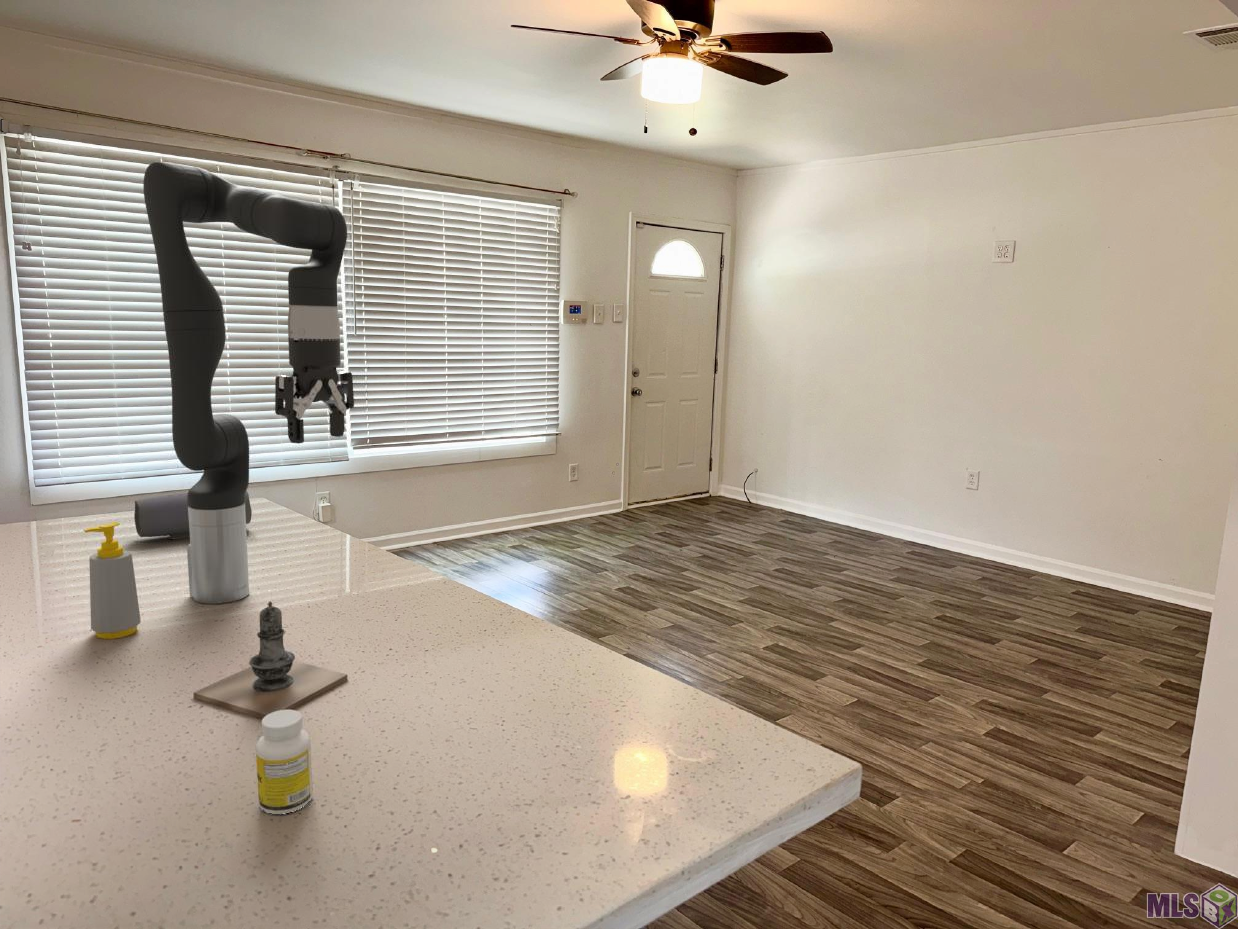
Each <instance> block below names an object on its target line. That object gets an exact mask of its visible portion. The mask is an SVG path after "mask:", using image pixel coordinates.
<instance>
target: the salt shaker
mask: <svg viewBox="0 0 1238 929" xmlns="http://www.w3.org/2000/svg"><path fill="white" fill-rule="evenodd" d="M273 604H274V603H273V602H272V601H271V600H270V601H268V603H267V606H266V607H265V608H263V609H262V610H261V611H260V612H259V616H258V618H259V631H258V632H257V634H256V635H257V637H258V638H259V651H258V654H255V655H254V656H252V657H251V658H250V659H249V661H248V664H249V666H250V667H251V666H252V670H253V672H254V674H255V675H256V676H257V677H259V678H258V679H257V680H255V681H254V682H253V685H252V686H253V688H254V689H255V690H258V691H263V692H270V691H277V690H281V689H284V688H287V687H289V686H290V685H291V684H292V683H293V678H292V677H291V676H289V675H287V673H288V672H289V671H290V670H291V667H292V664H293V660H294V661H295V659H296V656H295V654H294V653H293V652H291V651H289V650H285V646H284V635H285V634H286V630H285V629H284V628H283V621H282V620H283V616H282V611H281V609H280V608H279V607H277V606H274V605H273Z"/></svg>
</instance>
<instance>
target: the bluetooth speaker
mask: <svg viewBox="0 0 1238 929" xmlns="http://www.w3.org/2000/svg"><path fill="white" fill-rule="evenodd" d="M187 495H188V492H186V493H185V492H184V493H178V494H177V493H175V494H169V495H168V494H167V495H161V496H153V497H147V498H142V499H141V498H140V499H137V500H135V501H134V512H133V513H134V514H133V516H134V517H133V518H134V524H135V530H136V533H137V535H138V536H139V537H140V538H150V537H151V538H152V537H153V538H154V537H167V536H168V537H169V538H170V539H171V540H178V539H185V538H186V539H187V538H190V531H189V516H188V500H187ZM252 514H253V513H252V506H251V501H250V495H249V492H248V491H247V490H246V493H245V515H246V525H248V524H250V523H251V520H252Z"/></svg>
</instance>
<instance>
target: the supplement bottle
mask: <svg viewBox="0 0 1238 929" xmlns="http://www.w3.org/2000/svg"><path fill="white" fill-rule="evenodd" d="M260 724H261V735H262V736H261V737H260V738H259V740H257V742H256V745H255V759H256V761H255V762H256V778H257V789H258V790H257V792H258V794H257V795H258V805H259V808H260V807H261V808H260V809H261V811H263V810H264V811H265V812H268V813H272V814H273V813H274V814H283V813H288V812H292V811H295V810H298V809H300V808H301V807H303V806H305V805H306V804H307V803H308V802H309V801H310V802H311V800H312V799H313V794H314V793H313V790H314V789H313V774H312V773H313V772H312V768H313V767H312V752H311V751H312V749H311V737H310V735H309V734H308V732H307V731H306V730H304V729H303V714H302V713H301V712H300V711H298V710H296V709H293V710H280V711H275V712H272V713H270V714H268V715H266V716H265V717H264V718H263V719H261V723H260ZM311 798H312V799H311ZM310 802H309V803H310ZM309 803H308V804H309ZM308 804H307V805H308ZM307 805H306V806H307ZM306 806H305V807H306ZM303 808H304V807H303ZM300 810H301V809H300ZM264 811H263V812H264ZM298 811H299V810H298ZM265 812H264V813H265ZM268 813H267V814H268ZM272 814H271V815H272Z"/></svg>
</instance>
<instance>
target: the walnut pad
mask: <svg viewBox="0 0 1238 929" xmlns="http://www.w3.org/2000/svg"><path fill="white" fill-rule="evenodd" d="M287 675H289V676H291V677H292V678H293V683H292V684H291V685H290V686H289V687H287V688H284V689H281V690H277V691H270V692H263V691H258V690H255V689H254V688H253V686H252V685H253V682H254V681H255V680H257V679H258V678H259V677H257V676H256V675H255V674H254V672H253V670H252V666H251V665H250V666H249V667H247V668H245V669H242V670H239V671H238V672H236V673H233V674H231V675H229V676H227V677H225V678H223V679H220V680H218V681H216V682H213V683H211V684H210V685H209V684H208V685H207V686H205V687H203V688H201V689H198V690H196V691H193V699H196V700H199V701H202V702H205V703H209V704H212V705H213V706H214V705H215V706H219V707H222V708H224V709H228V710H230V711H234V712H237V713H241V714H244V715H248V716H250V717H254V718H257V719H260V720H262V719H263V718H264V717H265V716H266V715H268V714H270V713H272V712H275V711H280V710H296V709H297V708H299V707H300V706H303V705H304V704H306V703H308V702H310V701H311V700H313V699H315V698H317V697H319V696H322V694H324V693H326V692H328V691H330V690H332V689H333V688H335V687H337V686H339V685H341V684H342V683H345V682H346V681H348V679H349V678H348V674H346V673H342V672H339V671H336V670H331V669H327V668H323V667H322V666H321V667H320V666H316V665H313V664H308V663H304V662H301V661H298V660H295V659H294V660H293V664H292V667H291V670H290V671H289V672H288V673H287Z"/></svg>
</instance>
